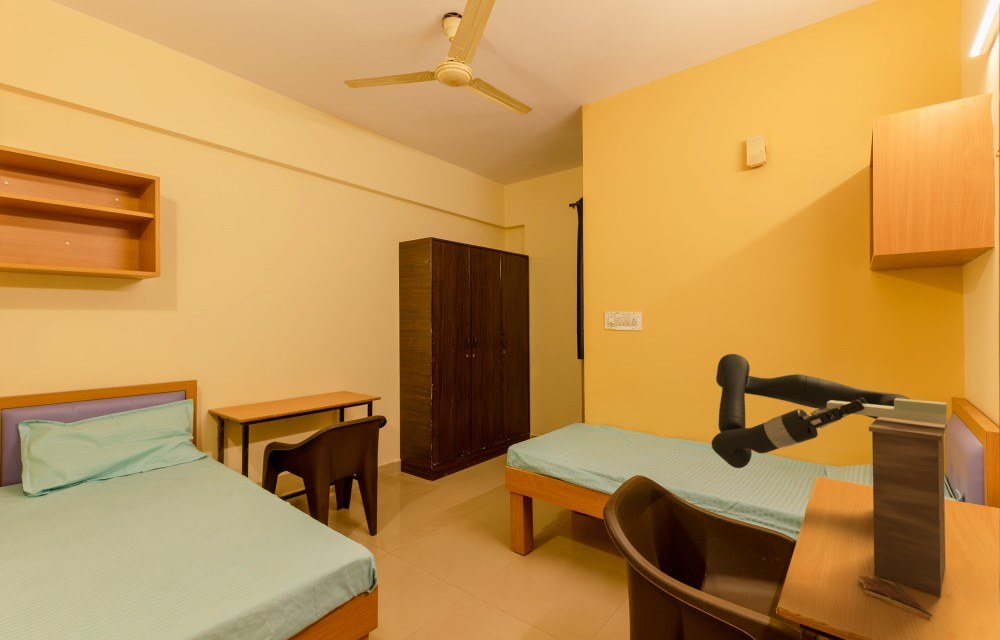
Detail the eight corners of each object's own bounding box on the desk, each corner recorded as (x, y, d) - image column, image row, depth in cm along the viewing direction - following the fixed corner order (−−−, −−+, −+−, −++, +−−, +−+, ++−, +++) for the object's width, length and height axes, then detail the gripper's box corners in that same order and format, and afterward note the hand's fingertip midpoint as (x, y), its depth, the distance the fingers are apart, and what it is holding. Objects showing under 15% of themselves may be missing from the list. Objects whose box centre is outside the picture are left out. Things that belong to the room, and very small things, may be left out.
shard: (933, 623, 80) (932, 613, 80) (883, 617, 82) (883, 608, 82) (894, 587, 90) (894, 579, 90) (851, 583, 92) (851, 574, 92)
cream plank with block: (830, 408, 107) (830, 392, 107) (947, 421, 92) (947, 402, 92) (826, 410, 105) (826, 394, 105) (946, 424, 90) (945, 405, 90)
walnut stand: (883, 547, 105) (881, 414, 105) (948, 566, 97) (946, 421, 97) (871, 575, 94) (868, 426, 94) (944, 599, 86) (941, 436, 86)
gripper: (772, 419, 109) (847, 391, 98) (789, 411, 118) (859, 384, 107) (790, 449, 106) (869, 423, 95) (806, 437, 115) (879, 413, 104)
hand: (863, 403), depth 101 cm, fingers closed on cream plank with block, 4 cm apart
